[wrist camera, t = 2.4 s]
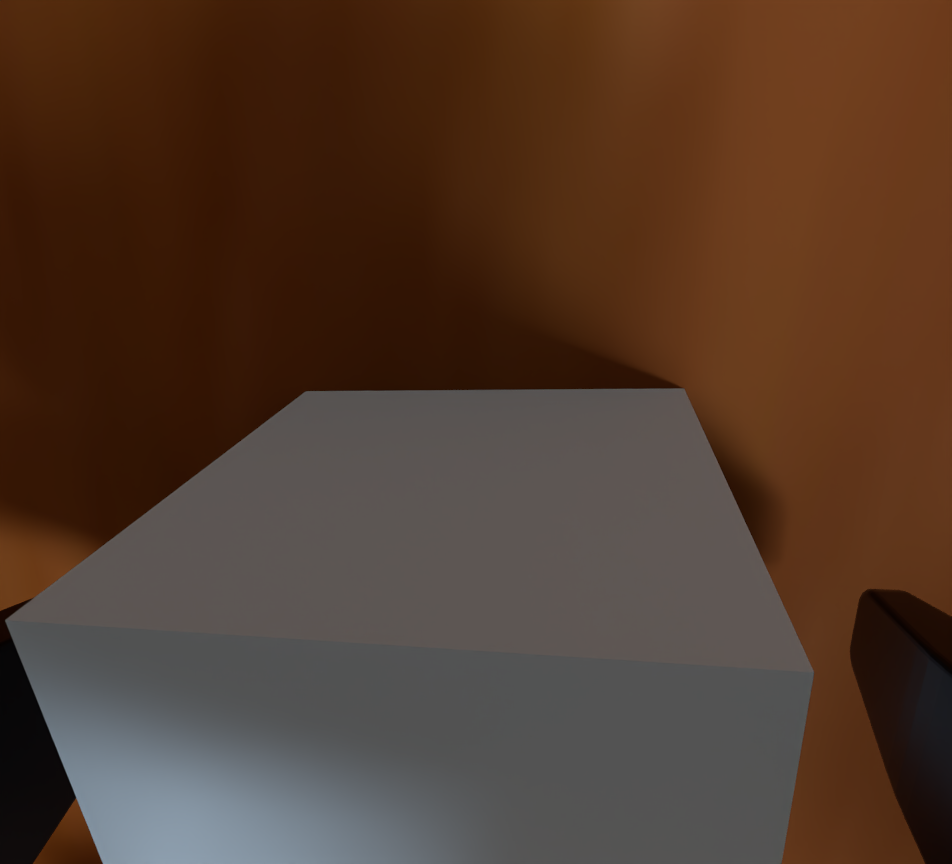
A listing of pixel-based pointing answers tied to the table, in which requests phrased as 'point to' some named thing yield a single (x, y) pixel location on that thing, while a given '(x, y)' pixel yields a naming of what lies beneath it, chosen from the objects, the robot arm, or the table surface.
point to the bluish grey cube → (432, 645)
